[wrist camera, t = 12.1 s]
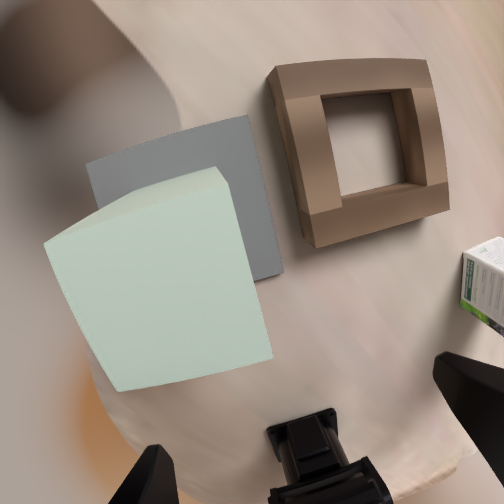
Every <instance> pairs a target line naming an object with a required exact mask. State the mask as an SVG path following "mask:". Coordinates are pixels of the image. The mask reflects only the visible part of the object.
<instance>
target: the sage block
mask: <svg viewBox="0 0 504 504" xmlns="http://www.w3.org/2000/svg"><path fill="white" fill-rule="evenodd" d="M44 247H45V250H46V252H47V255H48V257H49V260H50V263H51V265H52V268H53V270H54V272H55V275H56V277H57V280H58V281H59V284H60V287H61V289H62V291H63V293H64V295H65V298H66V300H67V302H68V304H69V306H70V308H71V310H72V312H73V315H74V317H75V318H76V321H77V322H78V324H79V326H80V328H81V330H82V332H83V334H84V336H85V338H86V340H87V342H88V344H89V345H90V347H91V349H92V351H93V353H94V354H95V356H96V358H97V360H98V361H99V363H100V365H101V366H102V368H103V370H104V371H105V373H106V375H107V376H108V378H109V380H110V381H111V383H112V384H113V386H114V388H115V389H116V391H117V392H122V391H129V390H135V389H141V388H147V387H153V386H158V385H163V384H169V383H174V382H179V381H184V380H188V379H193V378H198V377H202V376H206V375H211V374H215V373H219V372H223V371H227V370H231V369H235V368H239V367H243V366H247V365H251V364H254V363H258V362H262V361H265V360H269V359H272V358H274V356H273V353H272V349H271V345H270V342H269V338H268V334H267V330H266V327H265V323H264V319H263V315H262V311H261V308H260V304H259V300H258V296H257V293H256V289H255V285H254V281H253V277H252V274H251V270H250V266H249V262H248V258H247V255H246V251H245V247H244V243H243V239H242V236H241V232H240V228H239V224H238V220H237V216H236V213H235V209H234V205H233V201H232V197H231V193H230V189H229V186H228V183H227V182H226V180H225V179H224V177H223V176H222V174H221V173H220V171H219V170H218V169H217V167H216V166H214V167H211V168H207V169H203V170H200V171H196V172H193V173H189V174H186V175H182V176H179V177H176V178H172V179H169V180H166V181H162V182H159V183H156V184H153V185H150V186H147V187H144V188H141V189H138V190H135V191H132V192H131V193H129V194H127V195H125V196H123V197H121V198H119V199H118V200H116V201H114V202H112V203H110V204H109V205H107V206H105V207H103V208H101V209H100V210H98V211H96V212H94V213H93V214H91V215H89V216H88V217H86V218H84V219H83V220H81V221H79V222H77V223H76V224H74V225H73V226H71V227H69V228H68V229H66V230H65V231H63V232H61V233H60V234H58V235H57V236H55V237H53V238H52V239H50V240H49V241H47V242H46V243H44Z"/></svg>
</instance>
